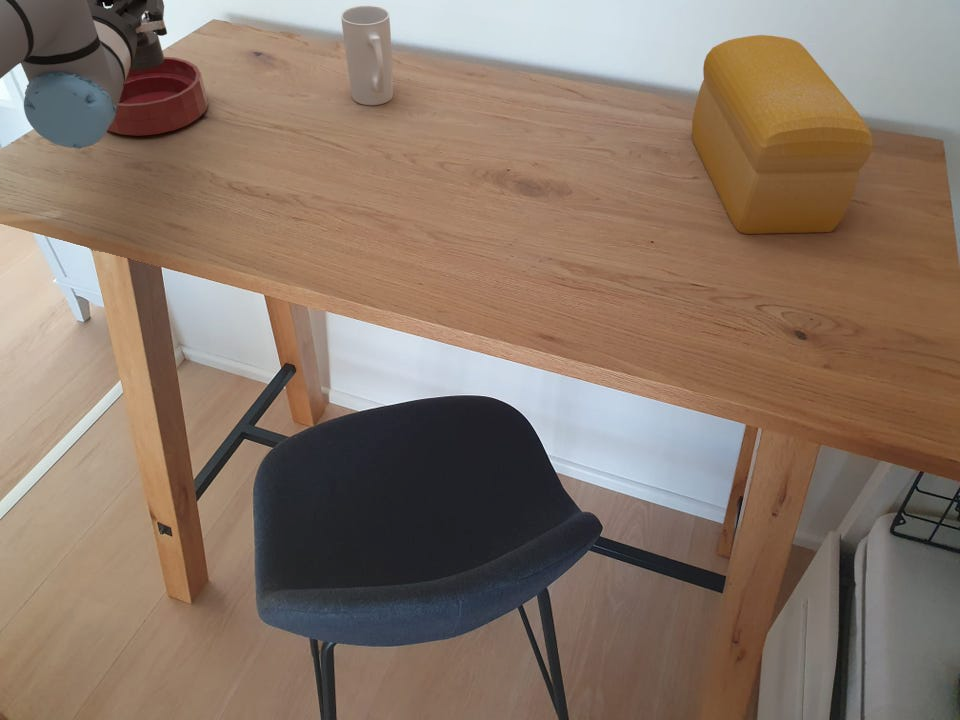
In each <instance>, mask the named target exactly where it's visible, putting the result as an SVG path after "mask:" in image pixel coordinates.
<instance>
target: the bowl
mask: <svg viewBox="0 0 960 720" xmlns="http://www.w3.org/2000/svg"><path fill="white" fill-rule="evenodd" d="M208 103H209V99H208V97H207V92H206V88H205V85H204V80H203V77H202V72H201V71H200V69H199V68H198V66H197V65H196V64H194V63H193V62H190V61H189V60H187V59H183V58H178V57H171V56H164V62H163V63H162V64H160V65H159V66H157V67H154V68H151V69H147V70H138V71H136V70H129V72H128V75H127V78H126V81H125V84H124V87H123V91H122V94H121V97H120V100H119V103H118V107H117V110H116V115H115V119H114V120H113V123H112V124H111V125H110V126H109V128H108V130H107V132H112V133H115V134H119V135H125V136H136V137H137V136H153V135H154V136H155V135H158V134H159V135H160V134H164V133H168V132H172V131H175V130H178V129H181V128H184V127H187V126H189V125H190V124H191V123H194V121H196V120H198V119H199V118H201V117H202V116H203V114H204V113H205V112H206V111H207V109H208V105H209V104H208Z"/></svg>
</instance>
